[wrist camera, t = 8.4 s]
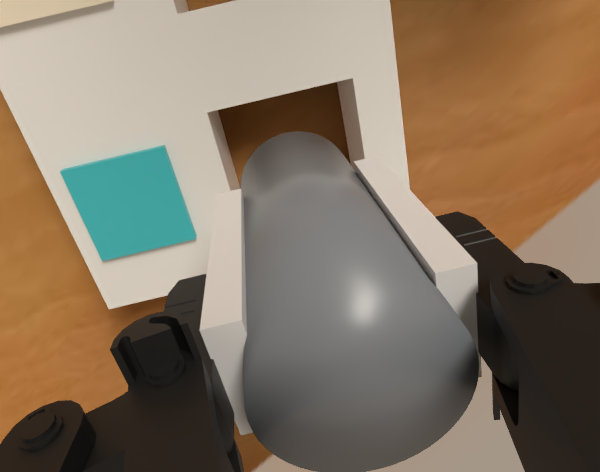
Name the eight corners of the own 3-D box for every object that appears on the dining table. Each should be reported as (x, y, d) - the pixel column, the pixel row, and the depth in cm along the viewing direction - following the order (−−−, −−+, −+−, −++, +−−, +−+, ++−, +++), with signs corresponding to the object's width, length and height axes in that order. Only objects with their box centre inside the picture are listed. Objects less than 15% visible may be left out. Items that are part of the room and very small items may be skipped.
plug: (342, 119, 16) (476, 264, 7) (358, 223, 18) (481, 443, 9) (227, 146, 16) (213, 327, 7) (256, 247, 18) (274, 494, 9)
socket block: (329, -266, 16) (355, -350, 12) (389, 202, 24) (417, 239, 20) (-66, -174, 16) (-163, -229, 12) (128, 264, 24) (107, 313, 20)
